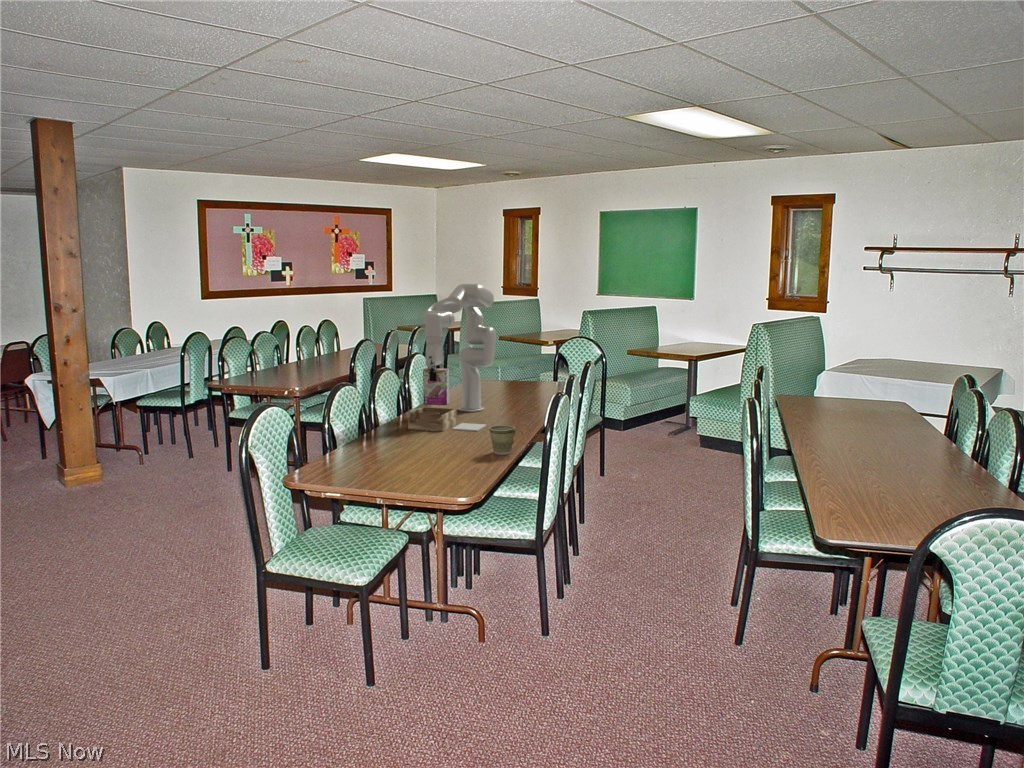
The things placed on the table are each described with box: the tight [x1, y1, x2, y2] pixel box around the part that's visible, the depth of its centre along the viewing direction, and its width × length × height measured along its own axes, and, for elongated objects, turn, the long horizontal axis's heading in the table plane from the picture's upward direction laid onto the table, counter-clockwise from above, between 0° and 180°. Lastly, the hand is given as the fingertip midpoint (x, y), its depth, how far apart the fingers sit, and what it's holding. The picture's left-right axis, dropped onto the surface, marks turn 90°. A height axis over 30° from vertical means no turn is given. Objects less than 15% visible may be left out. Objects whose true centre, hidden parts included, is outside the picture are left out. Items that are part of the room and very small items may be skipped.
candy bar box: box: [422, 367, 450, 406], centre depth 343 cm, size 11×5×16 cm, turn 80°
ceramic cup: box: [488, 424, 524, 456], centre depth 292 cm, size 13×10×10 cm
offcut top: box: [418, 411, 440, 420], centre depth 337 cm, size 5×9×2 cm, turn 107°
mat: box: [451, 422, 487, 432], centre depth 338 cm, size 12×12×1 cm
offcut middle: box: [416, 418, 441, 424], centre depth 338 cm, size 6×11×2 cm, turn 82°
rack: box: [407, 406, 458, 432], centre depth 341 cm, size 17×17×7 cm
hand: (435, 379), depth 342 cm, fingers closed on candy bar box, 5 cm apart
